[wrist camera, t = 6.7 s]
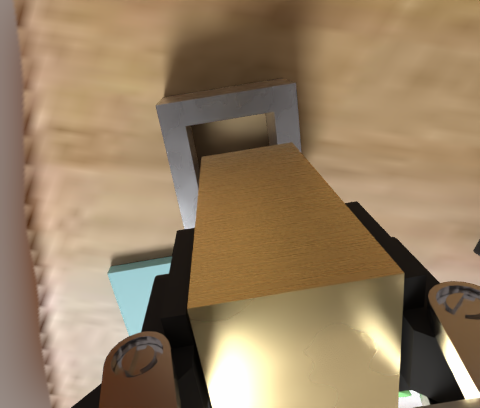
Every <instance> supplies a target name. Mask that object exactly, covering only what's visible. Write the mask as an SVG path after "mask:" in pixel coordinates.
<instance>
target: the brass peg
mask: <svg viewBox="0 0 480 408" xmlns="http://www.w3.org/2000/svg"><path fill="white" fill-rule="evenodd" d="M404 274H405V273H404V272H403V271H402V270H401V268H400V267H399V266H398V265H397V264H396V263H395V261H394V260H393V259H392V258H391V257H390V256H389V254H388V253H387V252H386V251H385V250H384V249H383V248H382V246H381V245H380V244H379V243H378V242H377V241H376V239H375V238H374V237H373V236H372V235H371V234H370V232H369V231H368V230H367V229H366V228H365V227H364V225H363V224H362V223H361V222H360V221H359V220H358V218H357V217H356V216H355V215H354V214H353V213H352V211H351V210H350V209H349V208H348V207H347V206H346V204H345V203H344V202H343V201H342V200H341V199H340V197H339V196H338V195H337V194H336V193H335V192H334V190H333V189H332V188H331V187H330V186H329V185H328V183H327V182H326V181H325V180H324V179H323V178H322V176H321V175H320V174H319V173H318V172H317V171H316V169H315V168H314V167H313V166H312V165H311V164H310V162H309V161H308V160H307V159H306V158H305V157H304V156H303V154H302V153H301V152H300V151H299V150H298V149H297V147H296V146H295V145H294V144H293V143H292V142H291V143H285V144H278V145H272V146H266V147H260V148H254V149H247V150H241V151H235V152H229V153H223V154H216V155H210V156H204V157H202V159H201V169H200V180H199V190H198V201H197V211H196V222H195V232H194V243H193V253H192V264H191V274H190V285H189V295H188V305H187V310H188V314H189V318H190V322H191V326H192V330H193V333H194V337H195V341H196V345H197V349H198V353H199V357H200V361H201V365H202V368H203V372H204V376H205V380H206V384H207V388H208V392H209V396H210V400H211V403H212V407H213V408H398V397H399V376H400V356H401V336H402V315H403V295H404Z"/></svg>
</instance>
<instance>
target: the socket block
mask: <svg viewBox="0 0 480 408" xmlns="http://www.w3.org/2000/svg"><path fill="white" fill-rule="evenodd" d="M156 109H157V114H158V118H159V122H160V126H161V131H162V135H163V139H164V143H165V148H166V152H167V156H168V161H169V165H170V169H171V173H172V178H173V182H174V186H175V191H176V195H177V199H178V203H179V208H180V212H181V216H182V221H183V225H184V229H190V228H195V222H196V211H197V201H198V190H199V180H200V169H199V164H198V159H197V154H196V149H195V144H194V139H193V134H192V129H191V125H196V124H202V123H208V122H214V121H220V120H227V119H233V118H239V117H245V116H251V115H257V114H263V113H265V114H266V123H267V132H268V140H269V146H272V145H278V144H285V143H291V142H292V143H293V144H294V145H295V146H296V147H297V149H298V150H299V151H300V152H301V141H300V128H299V116H298V103H297V90H296V83H295V82H292V81H289V80H286V79H284V78H280V79H274V80H267V81H261V82H255V83H249V84H243V85H236V86H230V87H224V88H218V89H211V90H205V91H199V92H193V93H187V94H180V95H174V96H168V97H163V98H162V99H161V100H160V101H159V102H158V103H157V105H156Z"/></svg>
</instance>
